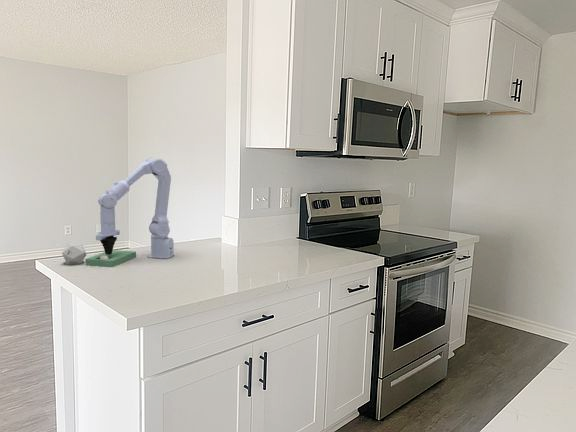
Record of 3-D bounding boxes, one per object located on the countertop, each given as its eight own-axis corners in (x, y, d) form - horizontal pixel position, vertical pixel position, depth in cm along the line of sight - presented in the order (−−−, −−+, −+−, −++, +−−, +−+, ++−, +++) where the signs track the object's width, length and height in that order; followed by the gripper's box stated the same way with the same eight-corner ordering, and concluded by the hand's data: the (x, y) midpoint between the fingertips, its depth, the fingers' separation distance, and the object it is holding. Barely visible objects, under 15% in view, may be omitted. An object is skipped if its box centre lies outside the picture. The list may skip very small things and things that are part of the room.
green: (136, 257, 203) (136, 251, 203) (112, 267, 185) (112, 261, 184) (111, 255, 205) (111, 249, 205) (85, 264, 187) (85, 259, 186)
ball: (109, 264, 190) (111, 256, 191) (105, 262, 187) (107, 254, 188) (101, 264, 190) (103, 256, 192) (97, 261, 187) (99, 253, 188)
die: (59, 264, 190) (55, 248, 183) (76, 250, 196) (72, 234, 189) (76, 272, 188) (72, 257, 181) (91, 259, 194) (89, 243, 188)
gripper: (109, 219, 198) (109, 250, 200) (88, 224, 184) (89, 257, 186) (123, 220, 197) (124, 251, 199) (104, 225, 183) (105, 258, 185)
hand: (108, 254), depth 192 cm, fingers closed
